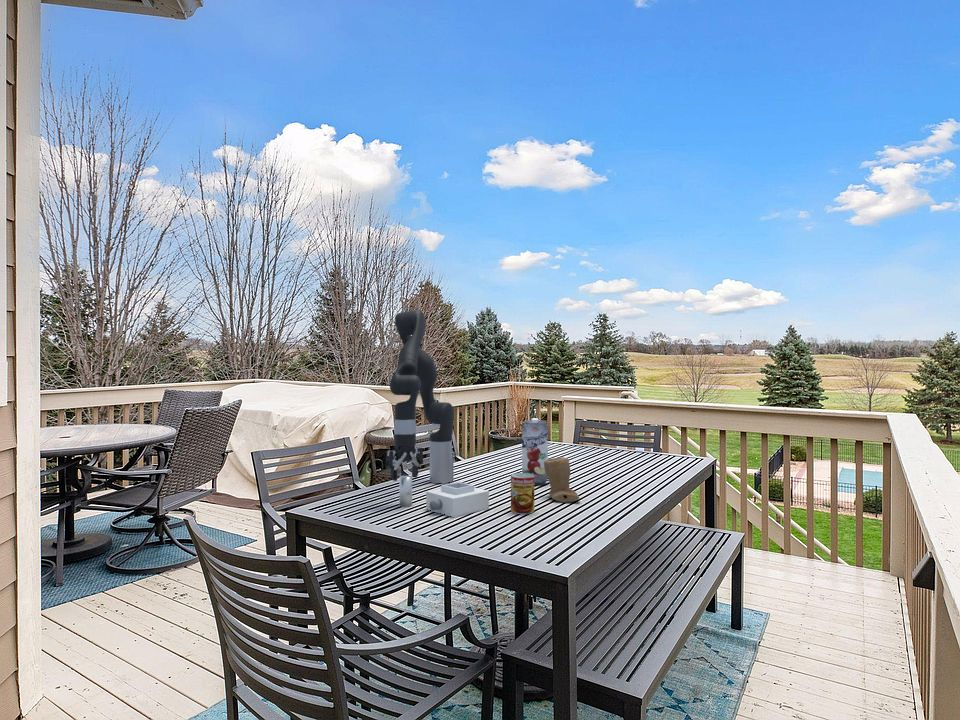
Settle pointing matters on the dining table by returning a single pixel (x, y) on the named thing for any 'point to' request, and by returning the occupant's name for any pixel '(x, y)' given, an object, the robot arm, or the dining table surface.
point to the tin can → (405, 491)
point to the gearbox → (457, 499)
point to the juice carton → (535, 449)
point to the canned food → (522, 493)
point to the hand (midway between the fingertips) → (404, 478)
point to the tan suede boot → (559, 479)
